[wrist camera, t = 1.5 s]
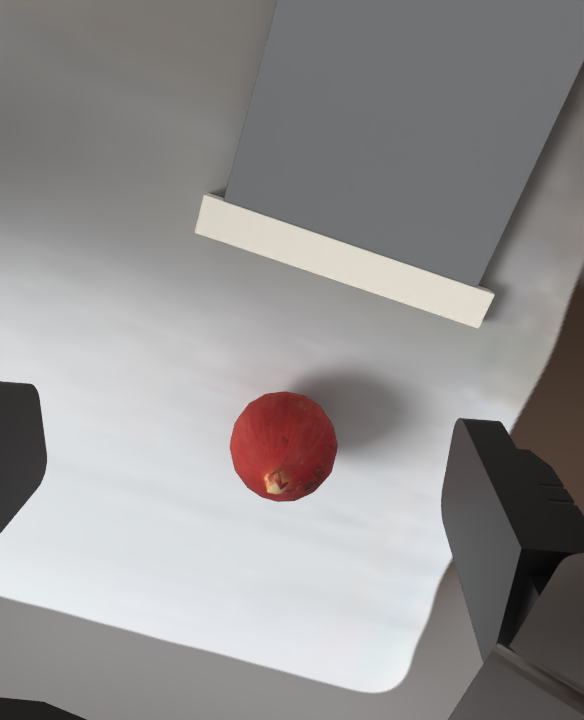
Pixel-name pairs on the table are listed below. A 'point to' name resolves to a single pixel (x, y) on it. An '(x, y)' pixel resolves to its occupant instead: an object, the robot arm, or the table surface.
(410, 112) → the mat
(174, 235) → the table surface
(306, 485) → the onion
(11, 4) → the table surface
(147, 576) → the table surface
